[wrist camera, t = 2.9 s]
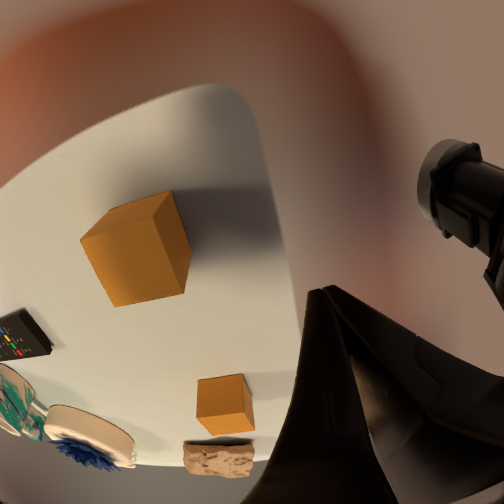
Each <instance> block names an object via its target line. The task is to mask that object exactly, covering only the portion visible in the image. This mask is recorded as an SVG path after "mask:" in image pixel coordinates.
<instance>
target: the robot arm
mask: <svg viewBox="0 0 504 504" xmlns="http://www.w3.org/2000/svg"><path fill="white" fill-rule="evenodd" d="M435 174H436V177H435ZM429 176H430V181H431V185H432V188H433V192H434V197H435V204H436V208H437V213H438V218H439V223H440V226H441V230H442V235H443V236H444V237H445V238H446V239H448V238H450V237H451V236H453V235H454V236H455V237H457V238H458V239H459V240H461V241H462V242H463V243H465V244H466V245H467V246H468V247H470V248H474V247H476V248H478V249H479V250H481V251H482V252H483V253H484V254H485V255H487V256H488V257H489V258H490V260H489V264H488V267H487V269H485V272H484V275H483V277H484V278H485V280H486V281H487V283H488V285H489V286H490V288H491V290H492V291H493V293H494V295H495V296H496V298H497V300H498V302H499V303H500V305H501V307H502V309H503V310H504V169H502V168H500V167H498V166H495V165H492V164H490V163H487V162H485V161H482V156H481V150H480V146H479V144H477V143H474V142H473V143H471V144H470V145H468V146H467V147H465V148H464V149H462V150H461V151H459V152H458V153H456V154H455V155H453V156H452V157H450V158H449V159H447V160H446V161H444V162H443V163H441V164H440V165H438V166H436V167H435V168H433V169H432V170H431V171H430V175H429ZM296 374H297V376H296V378H295V384H294V389H293V394H292V398H291V403H290V406H289V409H288V412H287V415H286V418H285V421H284V424H283V427H282V429H281V432H280V434H279V437H278V439H277V442H276V444H275V447H274V449H273V452H272V454H271V456H270V459H269V461H268V463H267V465H266V467H265V469H264V471H263V473H262V475H261V476H260V478H259V480H258V481H257V483H256V484H255V486H254V487H253V488H252V489H251V491H250V492H249V493H248V495H247V496H246V497H245V498H244V499H243V501H242V502H241V503H240V504H504V377H502V376H497V375H493V374H491V373H489V372H486V371H484V370H482V369H480V368H478V367H476V366H474V365H472V364H470V363H467V362H465V361H463V360H461V359H459V358H457V357H455V356H453V355H451V354H449V353H447V352H445V351H443V350H441V349H440V348H438V347H436V346H435V345H433V344H431V343H429V342H428V341H426V340H424V339H423V338H421V337H420V336H417V337H416V334H415V333H413V332H411V331H410V330H408V329H406V328H405V327H403V326H402V325H400V324H398V323H396V322H395V321H393V320H392V319H390V318H389V317H387V316H385V315H384V314H382V313H380V312H378V311H377V310H375V309H374V308H372V307H370V306H369V305H367V304H365V303H364V302H362V301H361V300H359V299H357V298H356V297H354V296H352V295H350V294H349V293H347V292H346V291H344V290H342V289H341V288H339V287H337V286H335V285H330V286H327V287H323V288H322V289H315V290H311V291H309V292H308V294H307V303H306V311H305V319H304V328H303V334H302V341H301V348H300V354H299V361H298V367H297V373H296ZM367 426H368V427H367ZM368 428H369V431H370V433H371V435H372V438H373V440H374V443H375V445H376V447H377V450H378V452H379V455H380V457H381V460H382V462H383V464H384V467H385V470H386V473H387V475H388V478H389V481H390V483H391V486H392V488H393V490H392V488H391V486H390V484H389V482H388V480H387V479H386V476H385V474H384V473H383V470H382V468H381V466H380V464H379V463H378V460H377V458H376V456H375V453H374V451H373V448H372V444H371V440H370V436H369V431H368ZM393 491H394V492H393ZM0 504H8V503H6V502H4V501H2V500H1V499H0Z"/></svg>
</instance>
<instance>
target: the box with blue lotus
mask: <svg viewBox="0 0 504 504" xmlns="http://www.w3.org/2000/svg"><path fill="white" fill-rule="evenodd" d="M43 428H44V430H45V432H46V433H47V434H48V436H49V437H50V438H52V439H53V440H54V441H50V442H49V443H53V444H59V445H60V446H58V447H56V448H58V449H61V450H60V453H66V454H65V455H66V456H72V457H73V459H75V460H76V462H81V463H82V464H83V465H84V466H85V467H87V466H89V465H90V464H92V465H93V466H94V467H96V468H97V467H98V468H99V469H102V468H101V466H102V467H103V468H105V469H106V470H107V471H109V472H110V469H111V470H113V469H112V467H111V466H113V467H114V468H116V469H117V470H119V471H121V470H120V469H119V468H118V467H117V466H122V467H127V468H135V467H136V466H135V465H133V464H131V462H136V461H137V459H136V457H135V456H133V455H132V452H133V445H134V443H133V441H132V439H131V438H130V437H129V436H128V435H127V434H126V433H125V432H124V431H122V430H121V429H119V428H117V427H116V426H114V425H112V424H110V423H108V422H107V421H104V420H102V419H100V418H98V417H96V416H94V415H91V414H89V413H86V412H83V411H81V410H78V409H75V408H71V407H67V406H61V405H56V406H52V407H50V409H49V412H48V414H47V417H46V420H45V423H44V426H43ZM132 457H133V458H134V459H135V460H132ZM131 460H132V461H131ZM110 465H111V466H110ZM128 465H131V466H128ZM109 468H110V469H109Z"/></svg>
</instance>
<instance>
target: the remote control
mask: <svg viewBox="0 0 504 504" xmlns="http://www.w3.org/2000/svg"><path fill="white" fill-rule="evenodd" d="M51 351H52V348H51V346H50V344H49V341H48V339H47V337H46V336H45V334H44V333H43V331H42V330H41V329H40V327H39V326H38V325H37V324H36V323H35V322H34V320H33V319H32V318H31V317H29V316H28V315H26V314H25V313H23V312H22V311H21V312H19V313H16V314H14V315H11V316H9V317H6V318H4V319H1V320H0V361H8V360H16V359H23V358H30V357H37V356H44V355H50V353H51Z"/></svg>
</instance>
